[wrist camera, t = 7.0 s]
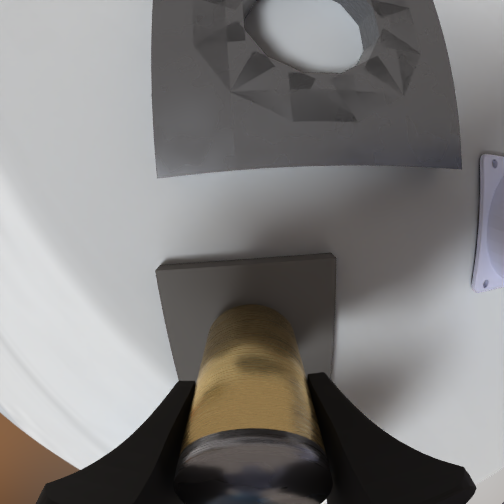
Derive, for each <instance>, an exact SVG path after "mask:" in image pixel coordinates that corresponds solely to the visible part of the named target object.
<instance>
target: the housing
mask: <svg viewBox="0 0 504 504" xmlns="http://www.w3.org/2000/svg"><path fill="white" fill-rule="evenodd" d="M256 1H257V0H153V10H152V45H151V72H152V109H153V129H154V145H155V159H156V171H157V178H165V177H174V176H182V175H191V174H200V173H210V172H220V171H232V170H245V169H259V168H276V167H297V166H331V165H381V166H414V167H434V168H450V169H462V162H461V143H460V130H459V120H458V111H457V103H456V96H455V89H454V83H453V77H452V72H451V67H450V62H449V57H448V53H447V49H446V44H445V40H444V36H443V33H442V29H441V25H440V22H439V19H438V15H437V12H436V9H435V6H434V3H433V0H334V1H336V2H338V3H340V4H341V5H342V6H343V7H344V8H345V10H346V11H347V12H348V13H349V14H350V15H351V17H352V18H353V19H354V20H355V21H356V23H357V24H358V25H359V28H360V33H361V38H362V44H363V49H364V51H363V53H362V55H361V57H360V59H359V62H358V64H357V66H355V67H353V68H351V69H349V70H347V71H345V72H343V73H341V74H334V73H304V72H301V71H299V70H297V69H295V68H292V67H290V66H288V65H286V64H284V63H282V62H280V61H277V60H275V59H273V58H271V57H268V56H266V54H265V53H264V52H263V51H262V49H261V48H260V47H259V46H258V45H257V43H256V42H255V41H254V40H253V39H252V37H251V36H250V35H249V34H248V33H247V32H246V30H245V29H244V19H245V18H246V16H247V15H248V13H249V12H250V10H251V9H252V7H253V6H254V4H255V3H256Z"/></svg>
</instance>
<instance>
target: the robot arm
mask: <svg viewBox="0 0 504 504" xmlns="http://www.w3.org/2000/svg"><path fill="white" fill-rule="evenodd" d="M492 161H493V166H492ZM484 281H485V282H484ZM483 283H484V284H483ZM501 287H504V157H503V156H497V155H491V154H483V155H482V156H481V158H480V213H479V229H478V240H477V250H476V258H475V266H474V273H473V279H472V289H473V290H474V291H475V292H478V293H479V292H483V291H488V290H492V289H497V288H501ZM307 382H308V386H309V390H310V394H311V397H312V401H313V405H314V409H315V413H316V417H317V420H318V424H319V428H320V432H321V436H322V440H323V444H324V448H325V452H326V456H327V460H328V464H329V468H330V472H331V476H332V480H333V487H332V491H331V493H330V494H329V496H328V497H327V504H466V503H467V502H468V501H469V500H470V499H471V497H472V496H473V495H474V493H475V490H476V486H475V484H474V482H473V481H472V479H471V477H470V475H469V474H468V472H467V471H466V470H465V468H464V467H462V466H458V465H455V464H451V463H448V462H444V461H441V460H438V459H435V458H433V457H431V456H428V455H426V454H423V453H421V452H419V451H417V450H415V449H413V448H411V447H409V446H407V445H406V444H404V443H402V442H400V441H398V440H397V439H395V438H394V437H392V436H391V435H389V434H388V433H386V432H385V431H383V430H382V429H381V428H379V427H378V426H377V425H375V424H374V423H373V422H372V421H371V420H369V419H368V418H367V417H366V416H365V415H364V414H363V413H361V412H360V411H359V410H358V409H357V408H356V407H355V406H354V405H353V404H352V403H351V402H350V401H349V400H348V399H347V398H346V397H345V396H344V395H343V393H342V392H341V391H340V390H339V389H338V388H337V387H336V385H335V384H334V383H333V382H332V381H331V379H330V378H329V377H328V376H327V374H326V373H324V372H320V373H312V374H307ZM195 386H196V383H195V381H178V382H177V383H176V385H175V386H174V387H173V389H172V390H171V391H170V393H169V394H168V395H167V396H166V398H165V399H164V400H163V401H162V403H161V404H160V405H159V406H158V407H157V409H156V410H155V411H154V412H153V413H152V414H151V416H150V417H149V418H148V419H147V420H146V421H145V422H144V423H143V424H142V425H141V426H140V427H139V428H138V429H137V430H136V431H135V432H134V433H133V434H132V435H131V436H130V437H129V438H128V439H126V440H125V441H124V442H123V443H122V444H120V445H119V446H118V447H117V448H115V449H114V450H113V451H111V452H110V453H108V454H107V455H105V456H104V457H102V458H101V459H99V460H98V461H96V462H95V463H93V464H91V465H89V466H87V467H86V468H84V469H82V470H80V471H78V472H76V473H74V474H71V475H69V476H66V477H64V478H61V479H58V480H56V481H53V482H50V483H47V484H46V485H45V486H44V488H43V490H42V492H41V494H40V496H39V498H38V500H37V502H36V504H184V503H183V502H182V501H181V500H180V499H179V498H178V497H177V495H176V493H175V491H174V487H173V484H174V478H175V473H176V469H177V464H178V460H179V455H180V451H181V446H182V442H183V438H184V433H185V429H186V425H187V420H188V416H189V412H190V407H191V403H192V399H193V395H194V391H195ZM502 504H504V502H503V503H502Z"/></svg>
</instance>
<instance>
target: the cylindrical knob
mask: <svg viewBox="0 0 504 504" xmlns="http://www.w3.org/2000/svg"><path fill="white" fill-rule="evenodd" d="M173 487H174V491H175V493H176V495H177V497H178V498H179V499H180V500H181V501H182V502H183V503H184V504H321V503H322V502H323V501H324V500H325V499H326V498H327V497H328V496H329V494H330V493H331V491H332V487H333V480H332V476H331V472H330V468H329V464H328V460H327V456H326V452H325V448H324V444H323V440H322V436H321V432H320V428H319V424H318V420H317V417H316V413H315V409H314V405H313V401H312V397H311V394H310V390H309V386H308V382H307V379H306V375H305V371H304V367H303V364H302V360H301V356H300V353H299V349H298V345H297V342H296V338H295V334H294V331H293V328H292V326H291V324H290V323H289V321H288V320H287V319H286V318H285V317H284V316H283V315H282V314H281V313H279V312H278V311H276V310H274V309H272V308H270V307H266V306H263V305H257V304H246V305H240V306H237V307H233V308H231V309H229V310H227V311H225V312H224V313H222V314H221V315H220V316H219V317H218V318H217V319H216V320H215V321H214V323H213V324H212V326H211V328H210V330H209V334H208V337H207V341H206V346H205V350H204V354H203V358H202V362H201V366H200V370H199V374H198V378H197V382H196V386H195V391H194V395H193V399H192V403H191V407H190V412H189V416H188V420H187V425H186V429H185V433H184V438H183V442H182V446H181V451H180V455H179V460H178V464H177V469H176V473H175V478H174V484H173Z"/></svg>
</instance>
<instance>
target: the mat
mask: <svg viewBox="0 0 504 504" xmlns="http://www.w3.org/2000/svg"><path fill="white" fill-rule="evenodd" d="M155 272H156V278H157V283H158V289H159V294H160V299H161V304H162V309H163V314H164V319H165V324H166V329H167V333H168V338H169V342H170V346H171V351H172V355H173V359H174V363H175V367H176V371H177V375H178V379H179V381H195V383H196V382H197V378H198V374H199V370H200V366H201V362H202V358H203V354H204V350H205V346H206V341H207V337H208V334H209V330H210V328H211V326H212V324H213V323H214V321H215V320H216V319H217V318H218V317H219V316H220V315H221V314H222V313H224V312H225V311H227V310H229V309H231V308H233V307H237V306H240V305H246V304H257V305H263V306H266V307H270V308H272V309H274V310H276V311H278V312H279V313H281V314H282V315H283V316H284V317H285V318H286V319H287V320H288V321H289V323H290V324H291V326H292V328H293V331H294V334H295V338H296V342H297V345H298V349H299V353H300V356H301V360H302V364H303V367H304V371H305V375H306V379H307V374H312V373H320V372H324V373H326V374H327V376H328V377H329V378H330V376H331V364H332V351H333V336H334V317H335V292H336V257H335V256H334V255H333V254H332V253H324V254H311V255H298V256H284V257H271V258H257V259H243V260H229V261H215V262H200V263H186V264H171V265H160V266H159V267H158V268H157V269H156V271H155Z"/></svg>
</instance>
